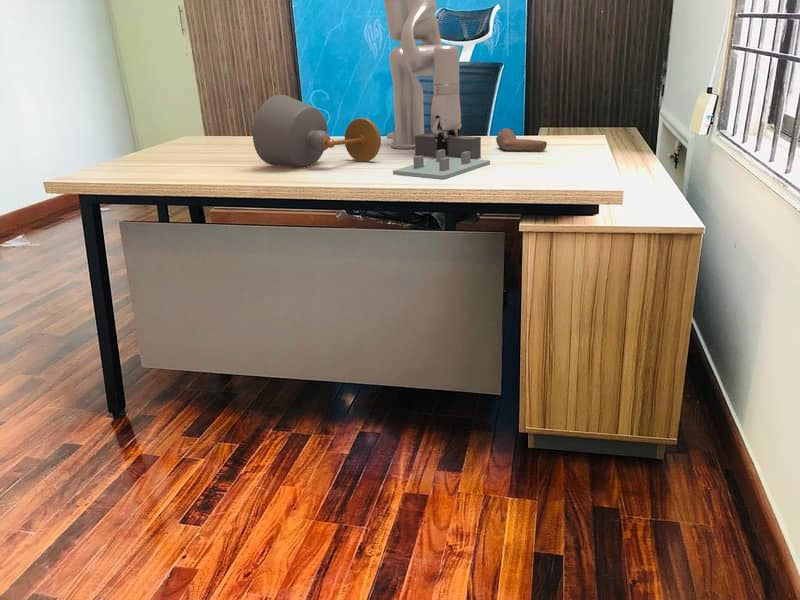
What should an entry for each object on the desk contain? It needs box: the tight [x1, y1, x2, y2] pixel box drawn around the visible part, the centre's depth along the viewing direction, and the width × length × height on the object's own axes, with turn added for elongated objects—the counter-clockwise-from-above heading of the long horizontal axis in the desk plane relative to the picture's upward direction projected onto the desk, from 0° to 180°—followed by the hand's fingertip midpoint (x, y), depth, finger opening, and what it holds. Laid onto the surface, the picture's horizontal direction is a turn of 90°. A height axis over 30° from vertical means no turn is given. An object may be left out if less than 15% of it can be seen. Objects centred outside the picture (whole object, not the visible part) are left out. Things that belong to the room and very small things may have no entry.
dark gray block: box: [414, 133, 482, 160], centre depth 209 cm, size 20×5×6 cm, turn 54°
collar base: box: [392, 150, 491, 180], centre depth 190 cm, size 16×24×4 cm, turn 144°
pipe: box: [495, 127, 548, 153], centre depth 216 cm, size 6×17×10 cm
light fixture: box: [252, 94, 382, 169], centre depth 200 cm, size 20×25×27 cm
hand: (447, 152), depth 209 cm, fingers closed on dark gray block, 5 cm apart
